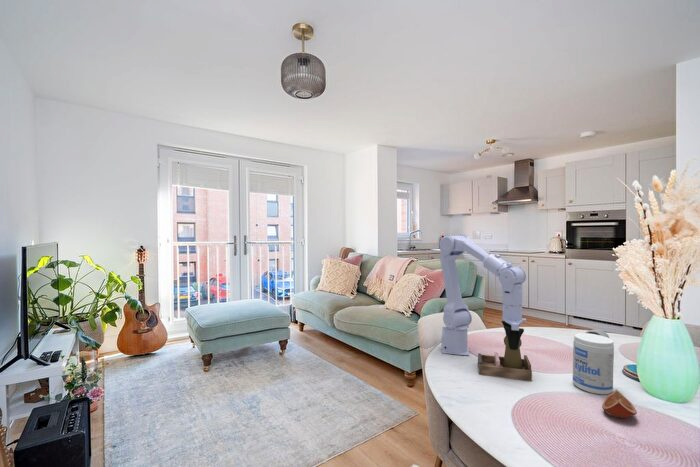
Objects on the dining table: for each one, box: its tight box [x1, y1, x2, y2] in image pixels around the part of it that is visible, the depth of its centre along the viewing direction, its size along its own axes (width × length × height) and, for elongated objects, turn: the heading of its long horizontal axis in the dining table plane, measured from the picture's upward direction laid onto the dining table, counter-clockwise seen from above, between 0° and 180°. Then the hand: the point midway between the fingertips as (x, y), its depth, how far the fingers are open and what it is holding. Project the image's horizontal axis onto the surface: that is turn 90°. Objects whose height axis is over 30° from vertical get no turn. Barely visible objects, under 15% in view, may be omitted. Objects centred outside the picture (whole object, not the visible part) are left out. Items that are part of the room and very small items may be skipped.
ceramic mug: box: [584, 328, 610, 338], centre depth 130 cm, size 11×8×8 cm
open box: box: [477, 352, 533, 382], centre depth 109 cm, size 15×10×5 cm, turn 71°
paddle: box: [494, 352, 500, 367], centre depth 110 cm, size 1×8×4 cm, turn 161°
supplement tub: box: [572, 332, 615, 395], centre depth 97 cm, size 10×10×15 cm
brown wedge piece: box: [601, 389, 638, 419], centre depth 83 cm, size 8×7×5 cm
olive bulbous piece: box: [503, 335, 523, 369], centre depth 108 cm, size 6×6×11 cm
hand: (512, 346), depth 108 cm, fingers closed on olive bulbous piece, 5 cm apart
